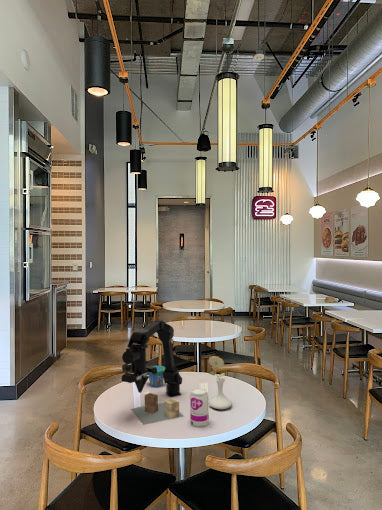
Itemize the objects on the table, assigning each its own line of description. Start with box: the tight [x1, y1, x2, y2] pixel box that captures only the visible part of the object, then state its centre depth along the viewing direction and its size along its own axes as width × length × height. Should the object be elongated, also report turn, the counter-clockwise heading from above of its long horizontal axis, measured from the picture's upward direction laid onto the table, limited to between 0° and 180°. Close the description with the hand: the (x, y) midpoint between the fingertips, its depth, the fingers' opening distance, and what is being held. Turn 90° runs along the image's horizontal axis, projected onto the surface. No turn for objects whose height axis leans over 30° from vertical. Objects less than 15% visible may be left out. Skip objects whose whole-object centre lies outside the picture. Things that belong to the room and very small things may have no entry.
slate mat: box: [130, 402, 185, 426], centre depth 184 cm, size 20×20×1 cm
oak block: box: [163, 397, 180, 420], centre depth 179 cm, size 5×5×7 cm
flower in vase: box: [208, 355, 233, 410], centre depth 191 cm, size 13×11×25 cm
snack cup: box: [147, 365, 166, 388], centre depth 224 cm, size 16×10×10 cm
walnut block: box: [144, 392, 159, 414], centre depth 185 cm, size 4×5×8 cm
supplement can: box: [189, 388, 210, 428], centre depth 171 cm, size 8×8×15 cm
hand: (139, 392), depth 178 cm, fingers closed
